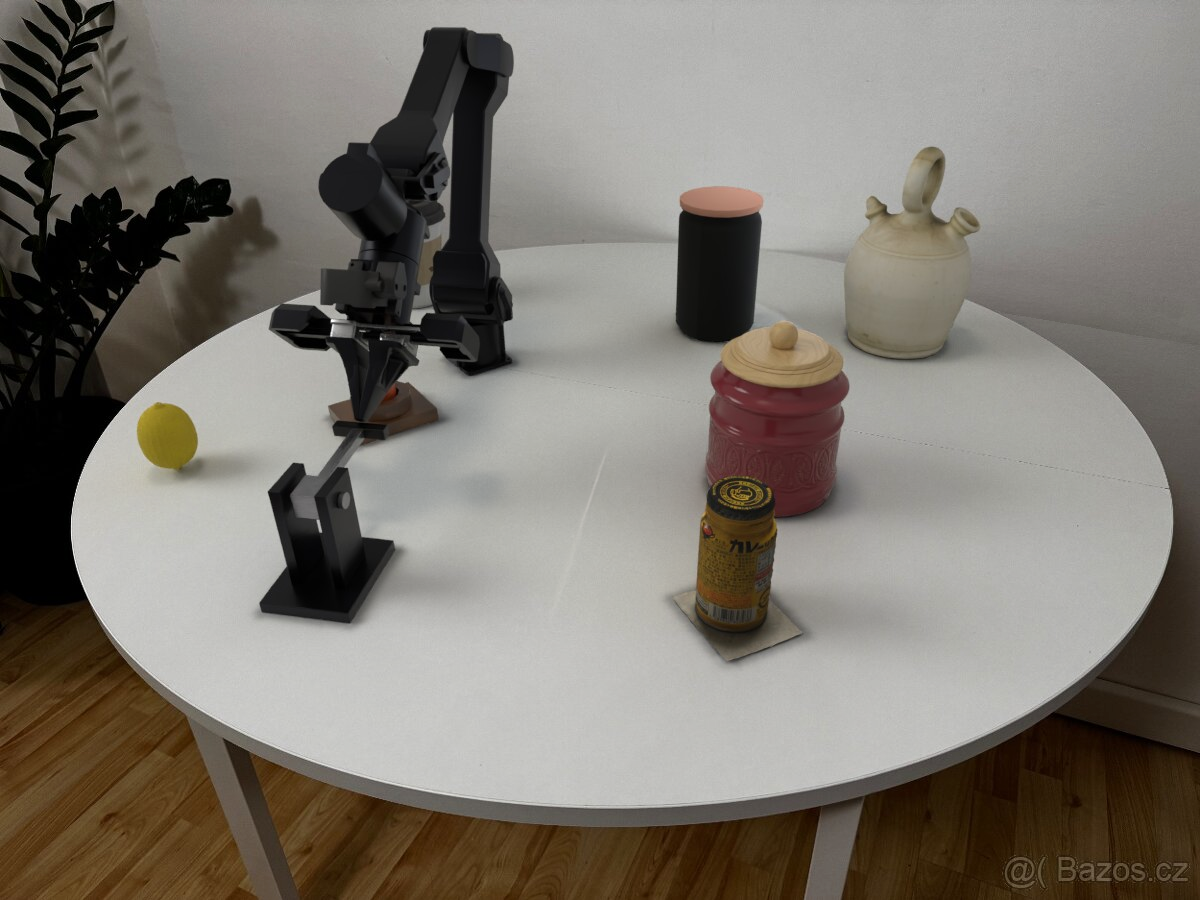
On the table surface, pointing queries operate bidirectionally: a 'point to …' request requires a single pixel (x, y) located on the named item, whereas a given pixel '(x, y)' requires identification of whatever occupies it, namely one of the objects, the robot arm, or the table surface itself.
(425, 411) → the button block
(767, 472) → the kitchen canister
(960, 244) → the jug
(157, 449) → the lemon
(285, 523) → the lever bracket
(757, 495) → the condiment
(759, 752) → the table surface
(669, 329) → the table surface
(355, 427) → the control lever
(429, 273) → the coffee cup
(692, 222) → the coffee jar
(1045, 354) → the table surface
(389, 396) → the button
